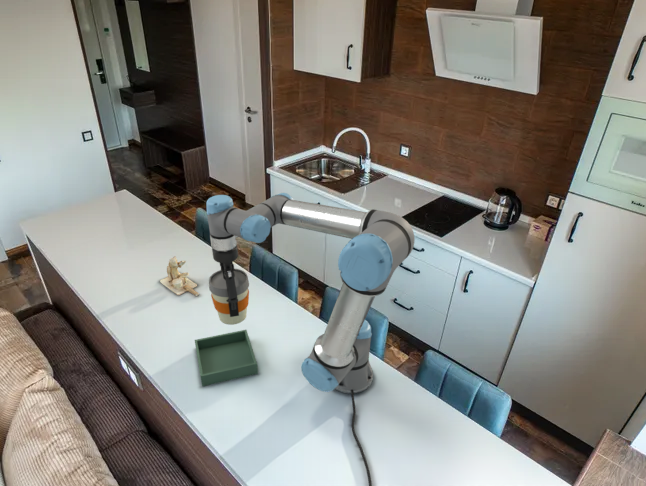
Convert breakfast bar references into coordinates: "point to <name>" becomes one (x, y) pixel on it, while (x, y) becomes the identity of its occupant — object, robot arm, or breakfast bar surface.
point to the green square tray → (225, 357)
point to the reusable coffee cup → (221, 295)
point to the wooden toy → (178, 279)
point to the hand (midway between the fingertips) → (231, 303)
